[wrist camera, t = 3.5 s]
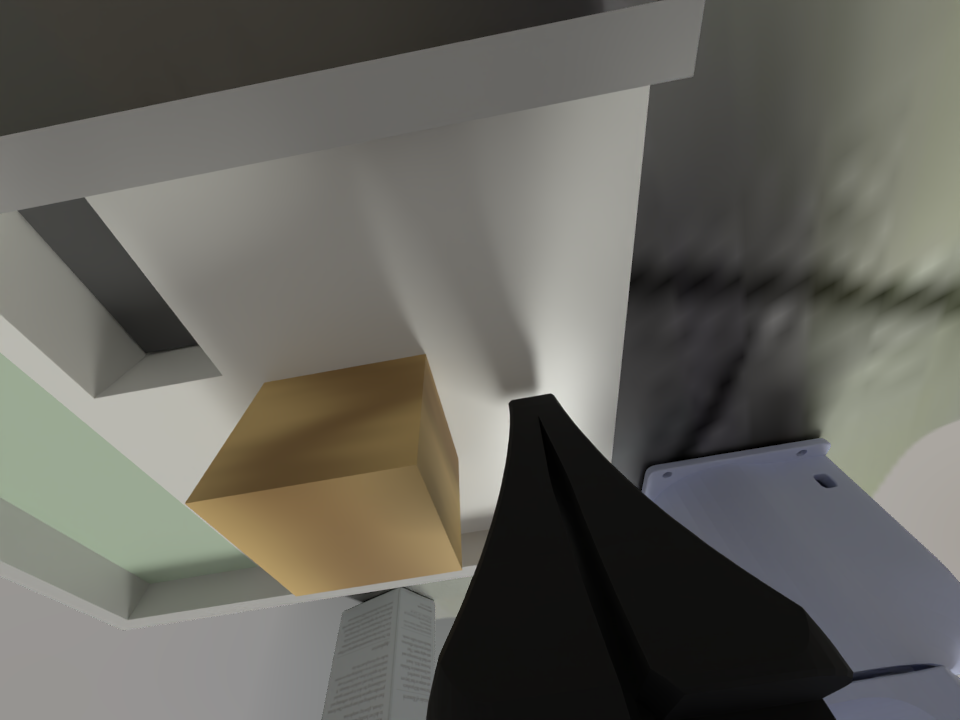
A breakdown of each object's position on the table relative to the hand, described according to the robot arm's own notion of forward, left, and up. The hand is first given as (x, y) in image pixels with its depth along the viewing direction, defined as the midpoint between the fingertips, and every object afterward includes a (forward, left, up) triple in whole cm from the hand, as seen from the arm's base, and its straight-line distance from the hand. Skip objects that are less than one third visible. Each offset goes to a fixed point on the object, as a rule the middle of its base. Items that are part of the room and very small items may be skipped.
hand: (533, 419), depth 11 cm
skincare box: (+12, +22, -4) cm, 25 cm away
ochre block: (+5, 0, -1) cm, 5 cm away
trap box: (+8, 0, -3) cm, 9 cm away
